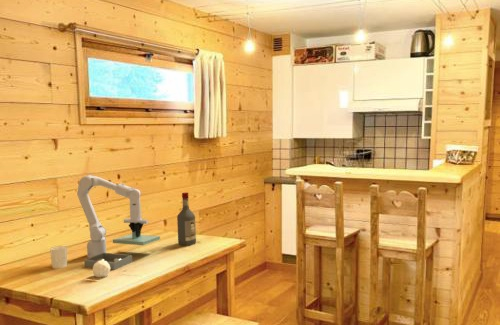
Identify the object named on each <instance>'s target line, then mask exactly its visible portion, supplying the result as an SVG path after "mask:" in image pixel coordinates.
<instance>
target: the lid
mask: <svg viewBox="0 0 500 325" xmlns="http://www.w3.org/2000/svg"><path fill="white" fill-rule="evenodd" d="M160 240H161V236H160V235H147V234H146V235H145V234H142V232H140V236H139V237H136V231H135V232H132V231H131V234H126V235H123V236H120V237H117V238H114V239H112V244H119V245H121V244H122V245H134V246H135V245H136V246H145V245H149V244H152V243H154V242H157V241H160Z"/></svg>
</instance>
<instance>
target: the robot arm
mask: <svg viewBox="0 0 500 325" xmlns="http://www.w3.org/2000/svg"><path fill="white" fill-rule="evenodd" d="M77 184H78V186H77V191H76V194H77V197H78V200H79V202H80V205H81V208H82V211H83V213H84V216H85V218H86V219H87V222H88V225H89V227H88V229H89V232H90V234H89V237H90V240H88V241H87V244H86V252H87V254H86V258H91V257H94V256H96V255H99V254H101V253H107V243H106V242H107V241H106V240H107V239H106V237H105V236H107V235H106V234H107V229H106V228H105V227H104V226H103V225H102V222H100V220H99V218H98V216H97V213H96V211H95V208H94V206H93V204H92V201H91V198H90V196H89V193H90V191H91V189H93V187H97V186H100V187H104V188H106V189H109V190H112V191H114V193H115V194H116V195H119V196H122V197H125V198H128V199H129V218H125V219H123V223H124V224H128V227H129V228H130V230H131V233H132V232H135V231H136V237H139V236H140V232H141V231H142V228H143V227H144V225H148V224H149V219H144V218H142V206H141V205H142V203H141V196H142V193H141V191H140V189H138V188H135V187H132V186H131V187H130V186H128V185H125V184H126V183H124V182H122V183H118V184H117V183H114V182H112V181H109V180H107V179H104V178H102V177H100V176H96V175H93V174H88V175H85V176H82V177H81V178H80V179H79V181H78V183H77ZM141 233H142V232H141Z"/></svg>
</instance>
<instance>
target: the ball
mask: <svg viewBox="0 0 500 325" xmlns="http://www.w3.org/2000/svg"><path fill="white" fill-rule="evenodd" d="M110 271H111V270H110V265H109V264H108V263H107V261H103V260H101V261H98V262H96V263H95V264H94V266H93V268H92V273H93V275H94V276H95V277H96V278H104V277H107V276H108V275H109V274H110V273H111V272H110Z"/></svg>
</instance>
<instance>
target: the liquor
mask: <svg viewBox="0 0 500 325" xmlns="http://www.w3.org/2000/svg"><path fill="white" fill-rule="evenodd" d="M181 197H182V198H181V199H182V209H181V210H180V212H179V213H178V214H177V216H176V218H177V219H176V220H177V222H176V223H177V243H178V245H180V246H187V247H188V246H191V245H195V244H196V243H197V232H196V216H195V214H194V212H193V211H192V210H191V209H190V206H189V204H190V203H189V192H181Z"/></svg>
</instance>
